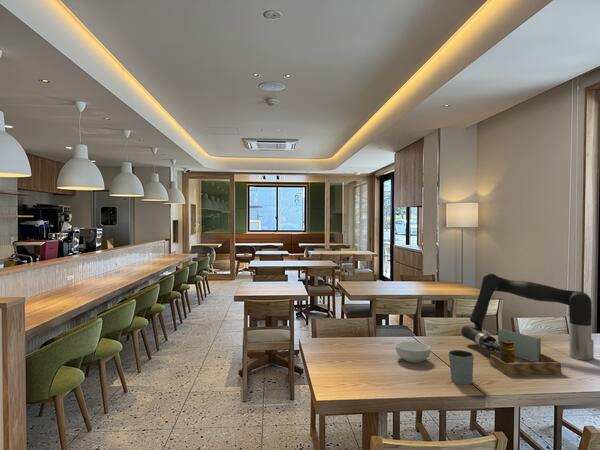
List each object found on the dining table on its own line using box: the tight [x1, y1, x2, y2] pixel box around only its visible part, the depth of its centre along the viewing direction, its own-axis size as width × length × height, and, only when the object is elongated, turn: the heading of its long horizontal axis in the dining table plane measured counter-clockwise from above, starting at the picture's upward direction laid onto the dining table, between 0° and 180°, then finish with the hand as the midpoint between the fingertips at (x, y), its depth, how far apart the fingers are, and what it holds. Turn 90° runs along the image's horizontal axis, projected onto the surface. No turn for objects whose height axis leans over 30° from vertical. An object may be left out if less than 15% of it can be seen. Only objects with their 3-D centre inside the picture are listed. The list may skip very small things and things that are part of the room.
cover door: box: [497, 328, 542, 363], centre depth 205 cm, size 22×1×13 cm, turn 27°
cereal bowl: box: [395, 341, 432, 364], centre depth 201 cm, size 17×17×7 cm
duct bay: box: [489, 353, 562, 376], centre depth 188 cm, size 26×13×5 cm, turn 92°
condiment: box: [499, 340, 516, 363], centre depth 192 cm, size 7×8×12 cm
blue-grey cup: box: [448, 349, 475, 386], centre depth 174 cm, size 10×10×12 cm
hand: (503, 351), depth 195 cm, fingers closed
